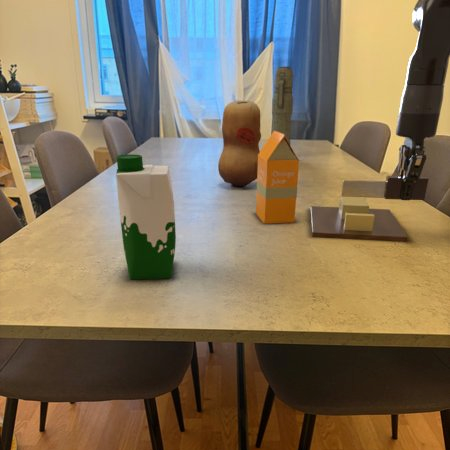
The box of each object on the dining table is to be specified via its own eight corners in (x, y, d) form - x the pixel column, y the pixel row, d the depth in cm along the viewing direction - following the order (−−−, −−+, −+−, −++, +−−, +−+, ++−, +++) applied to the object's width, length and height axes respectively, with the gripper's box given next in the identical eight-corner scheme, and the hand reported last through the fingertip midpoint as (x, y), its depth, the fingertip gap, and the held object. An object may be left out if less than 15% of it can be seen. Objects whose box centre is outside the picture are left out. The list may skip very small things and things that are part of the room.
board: (388, 213, 112) (389, 209, 111) (406, 241, 92) (407, 237, 92) (310, 209, 114) (310, 206, 114) (312, 236, 95) (312, 232, 95)
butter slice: (371, 229, 96) (373, 214, 95) (372, 231, 95) (374, 216, 94) (343, 228, 97) (345, 212, 96) (344, 230, 96) (346, 214, 94)
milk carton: (129, 262, 82) (118, 152, 72) (177, 261, 82) (172, 151, 73) (124, 282, 74) (109, 161, 65) (177, 280, 74) (170, 160, 65)
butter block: (362, 211, 109) (364, 197, 108) (367, 220, 102) (369, 206, 101) (338, 210, 110) (340, 196, 109) (341, 219, 103) (343, 204, 102)
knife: (421, 197, 93) (426, 176, 91) (424, 200, 91) (428, 178, 89) (341, 195, 95) (343, 174, 93) (341, 197, 94) (344, 176, 91)
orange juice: (284, 212, 112) (289, 130, 103) (295, 222, 104) (301, 134, 95) (255, 213, 111) (257, 130, 102) (263, 223, 103) (267, 135, 94)
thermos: (268, 157, 188) (272, 66, 172) (270, 153, 198) (274, 67, 182) (289, 158, 186) (295, 66, 170) (290, 154, 197) (295, 67, 181)
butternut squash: (223, 191, 132) (223, 102, 121) (215, 182, 144) (214, 99, 132) (266, 189, 135) (270, 101, 123) (255, 180, 146) (257, 99, 135)
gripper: (450, 113, 78) (430, 207, 86) (430, 108, 90) (414, 191, 98) (407, 113, 79) (391, 206, 87) (393, 108, 91) (380, 190, 99)
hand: (403, 197), depth 93 cm, fingers closed on knife, 2 cm apart
